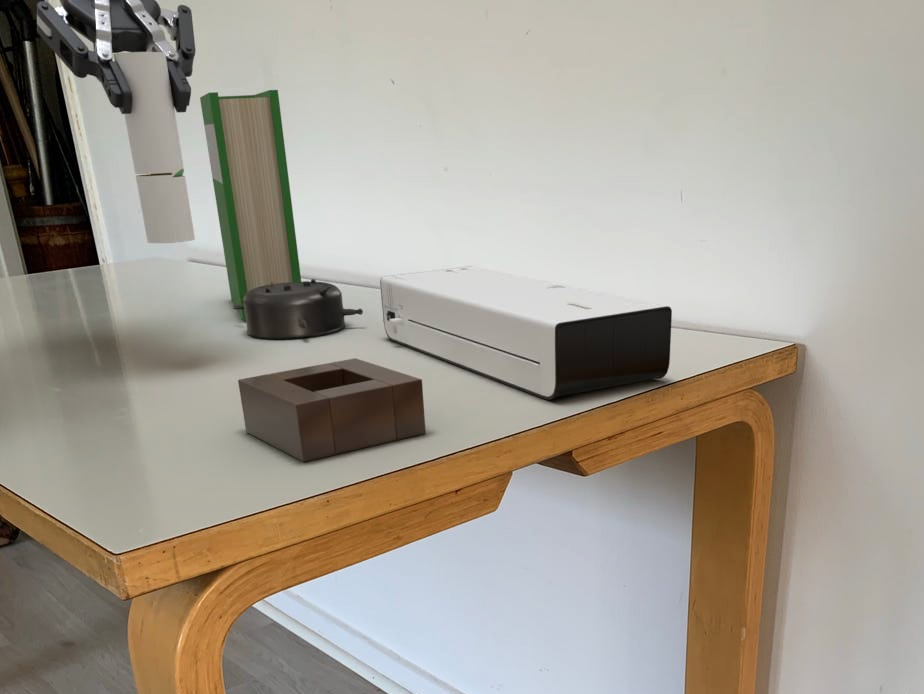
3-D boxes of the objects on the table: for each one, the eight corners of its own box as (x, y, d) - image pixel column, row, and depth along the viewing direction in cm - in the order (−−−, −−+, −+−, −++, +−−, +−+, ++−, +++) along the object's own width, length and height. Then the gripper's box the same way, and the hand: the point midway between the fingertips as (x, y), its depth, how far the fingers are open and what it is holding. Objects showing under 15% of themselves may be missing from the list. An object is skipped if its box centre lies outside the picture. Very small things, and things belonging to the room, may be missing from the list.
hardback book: (305, 315, 120) (277, 89, 109) (243, 321, 118) (209, 92, 107) (286, 295, 135) (260, 94, 123) (231, 300, 133) (199, 97, 122)
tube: (160, 244, 89) (127, 51, 82) (139, 241, 92) (105, 55, 85) (203, 239, 92) (174, 52, 85) (181, 237, 95) (151, 55, 88)
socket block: (303, 462, 68) (295, 404, 66) (245, 432, 75) (237, 379, 73) (426, 433, 73) (422, 379, 71) (360, 407, 80) (355, 357, 78)
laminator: (669, 382, 83) (672, 305, 80) (545, 406, 78) (543, 325, 75) (476, 324, 110) (474, 265, 107) (375, 339, 105) (369, 278, 102)
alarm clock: (372, 324, 112) (276, 322, 121) (365, 274, 110) (268, 275, 119) (301, 343, 104) (205, 338, 114) (293, 289, 102) (195, 289, 111)
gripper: (0, -91, 82) (73, 69, 79) (167, -80, 89) (241, 67, 86) (3, -8, 88) (70, 143, 85) (159, -3, 95) (227, 136, 92)
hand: (156, 104), depth 85 cm, fingers closed on tube, 4 cm apart
